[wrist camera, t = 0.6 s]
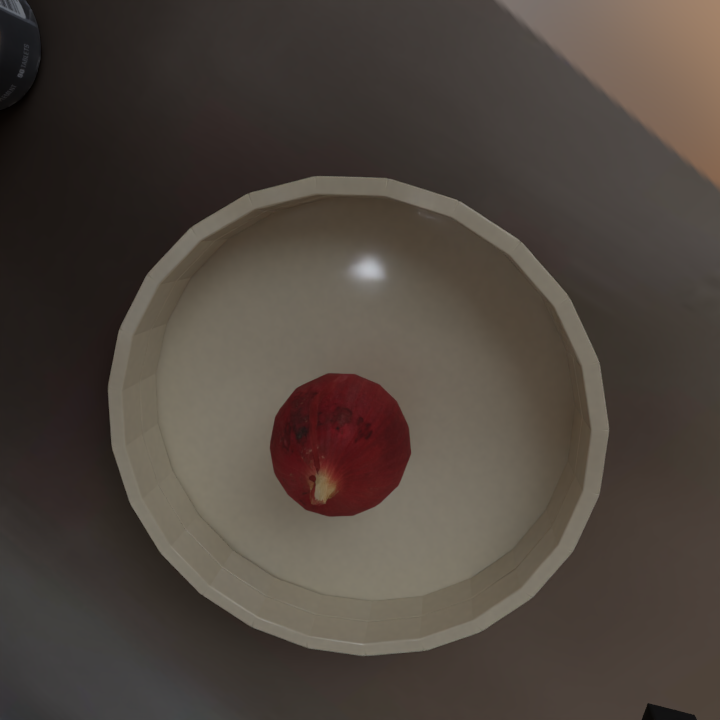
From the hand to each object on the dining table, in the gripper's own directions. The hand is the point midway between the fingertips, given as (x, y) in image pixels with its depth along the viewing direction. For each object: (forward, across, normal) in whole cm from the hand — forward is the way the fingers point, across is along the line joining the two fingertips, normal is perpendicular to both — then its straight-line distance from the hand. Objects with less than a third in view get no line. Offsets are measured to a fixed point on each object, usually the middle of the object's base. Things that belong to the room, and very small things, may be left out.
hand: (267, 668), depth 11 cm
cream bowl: (+18, -1, -1) cm, 18 cm away
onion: (+18, -1, -1) cm, 18 cm away
